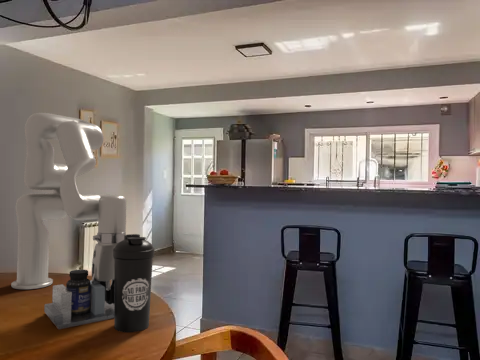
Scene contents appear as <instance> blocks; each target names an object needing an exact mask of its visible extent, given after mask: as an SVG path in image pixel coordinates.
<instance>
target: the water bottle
mask: <svg viewBox="0 0 480 360" xmlns="http://www.w3.org/2000/svg"><path fill="white" fill-rule="evenodd" d="M146 239H147V237H146V236H141V235H140V234H138V233H131V234H126V235H125V236H124V240H123V241H121V242H119V243H118V244H117V245H116V246H115V248H114V249H113V258H114V318H113V319H114V320H113V321H114V325H113V326H114V329H115V330H116V331H117V332H119V333H120V332H121V333H137V332H138V333H139V332H141V331H144V330H147V328H149V327H150V312H151V294H152V279H153V278H152V275H153V261H154V260H153V259H154V257H155V248H154V247H153V243H151V242H150V241H149V240H146Z"/></svg>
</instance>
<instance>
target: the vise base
mask: <svg viewBox="0 0 480 360" xmlns="http://www.w3.org/2000/svg"><path fill="white" fill-rule="evenodd" d="M71 299H72V292H71V291H70V290H69V289H67V288H66V285H64V284H62V283H61V284H57V285H56V284H55V285H52V299H51V300H52V302H51V303H49V302H48V303H45V304H44V313H45V314H46V316H47V317H48V318H49V319H50V321H51V322H52V323H53V324H54V325H55V326H56V329H58V330H62V329H68V328H73V327H77V326H82V325H88V324H92V323H93V324H94V323H98V322H103V321H107V320H111V319H114V304H113V303H112V304H108V303H106V301H105V309H104V313H102V314H97V315H95V314H93V313H92V312H91V311H90V310H89V311H88V312H87V313H85V314H81V315H71Z"/></svg>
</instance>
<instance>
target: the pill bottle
mask: <svg viewBox="0 0 480 360" xmlns="http://www.w3.org/2000/svg"><path fill="white" fill-rule="evenodd" d="M88 276H89V270H88V269H73V270H71V271H69V279H68V281H67V282H66V285H65V287H66V288H67V289H69V290H70V291H71V292H72V299H71V315H81V314H85V313H87V312H88V311H89V310H90V286H91V282H90V281H91V280H90V279H89V278H88Z"/></svg>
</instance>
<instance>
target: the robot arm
mask: <svg viewBox="0 0 480 360" xmlns="http://www.w3.org/2000/svg"><path fill="white" fill-rule="evenodd" d="M24 134H25V135H24V137H25V141H26V157H25V166H24V175H23V177H24V178H23V181H24V185H25V187H26V188H27V189H30V190H35V191H52V192H53V193H52V192H51V193H46V192H45V193H43V192H42V193H41V192H37V193H34V192H33V193H27V194H22V195H21V196H20V197H17V199H16V203H15V213H16V220H17V258H16V259H17V261H16V262H17V266H16V268H17V269H16V280H14V281H12V282H11V288H12V289H16V290H35V289H41V288H45V287H49V286H51V285H52V284H54V283H53V282H54V279H53V278H51V277H49V258H50V257H49V255H50V232H49V229H48V228H47V226H46V225H45V224H44V222H43V221H54V220H63V219H65V218H66V217H69V218H70V219H72V220H74V221H85V220H87V221H88V220H97V222H98V225H97V232H96V233H97V234H95V235H93V236H92V240H93V241H96V242H97V243H95V245H94V248H93V254H92V261H91V280H92V281H91V280H90V281H91V283H92V284H93V285H97V284H101V285H103V286H104V287H105V301H106V303H108V304H112V303H113V304H114V258H113V249H114V248H115V246H116V245H117V244H118V243H119V242H121V241H123V240H124V236H125V235H127V234H126V233H127V232H126V230H127V227H126V226H127V199H126V197H125V196H123V195H117V194H115V195H113V194H112V195H111V194H108V193H80V191H79V188H78V186H77V180H76V179H77V178H78V177H80V176H82V175H85V174H87V173H89V172H91V171H92V170H93V169H94V168H95V167H96V165H97V160H96V157H95V154H94V152H93V151H95V150H98V149H100V148H101V147H102V146H103V144H104V133H103V131H102V129H101V127H99V125H97V124H94V123H92V122H89V121H87V120H84V119H81V118H77V117H73V116H65V115H60V114H55V113H48V112H36V113H35V112H34V113H33V114H31V115H29V117H28V118H27V119H26V122H25V125H24ZM50 140H54V141H58V143H59V147H60V149H61V154H62V155H63V159H64V162H65V164H64V163H55V162H54V161H55V148H54V146H53V143H52V142H51V141H50ZM110 281H111V282H110Z"/></svg>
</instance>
